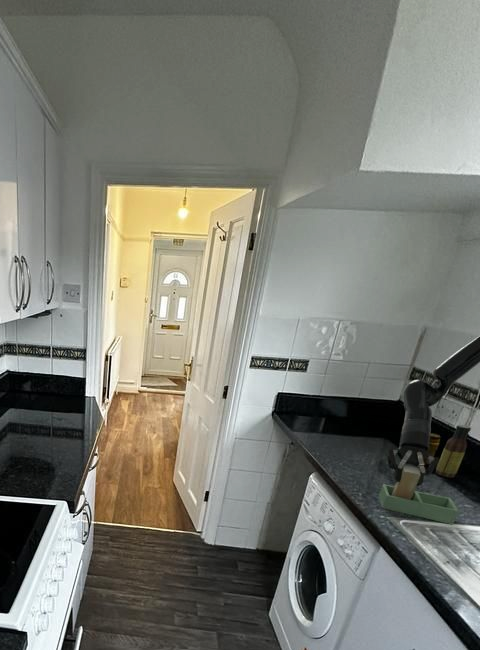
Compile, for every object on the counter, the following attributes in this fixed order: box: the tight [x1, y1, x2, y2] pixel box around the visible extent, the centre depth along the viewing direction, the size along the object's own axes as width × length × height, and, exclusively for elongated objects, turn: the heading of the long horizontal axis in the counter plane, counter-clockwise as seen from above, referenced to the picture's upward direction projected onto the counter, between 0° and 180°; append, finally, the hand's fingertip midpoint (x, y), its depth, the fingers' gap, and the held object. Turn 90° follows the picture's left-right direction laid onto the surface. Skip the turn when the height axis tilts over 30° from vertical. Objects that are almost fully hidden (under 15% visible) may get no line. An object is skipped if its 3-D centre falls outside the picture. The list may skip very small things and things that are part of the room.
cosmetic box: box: [391, 464, 421, 500], centre depth 131 cm, size 6×4×12 cm
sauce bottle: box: [435, 424, 472, 479], centre depth 156 cm, size 7×6×20 cm
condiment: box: [424, 432, 442, 465], centre depth 169 cm, size 7×8×12 cm
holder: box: [378, 483, 460, 525], centre depth 131 cm, size 18×10×5 cm, turn 63°
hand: (408, 482), depth 129 cm, fingers closed on cosmetic box, 4 cm apart
